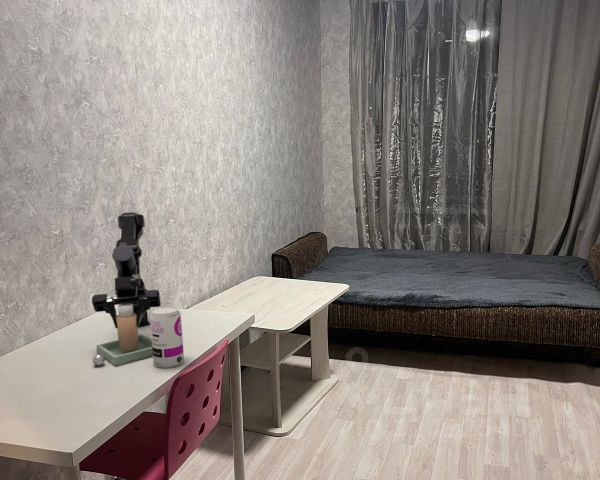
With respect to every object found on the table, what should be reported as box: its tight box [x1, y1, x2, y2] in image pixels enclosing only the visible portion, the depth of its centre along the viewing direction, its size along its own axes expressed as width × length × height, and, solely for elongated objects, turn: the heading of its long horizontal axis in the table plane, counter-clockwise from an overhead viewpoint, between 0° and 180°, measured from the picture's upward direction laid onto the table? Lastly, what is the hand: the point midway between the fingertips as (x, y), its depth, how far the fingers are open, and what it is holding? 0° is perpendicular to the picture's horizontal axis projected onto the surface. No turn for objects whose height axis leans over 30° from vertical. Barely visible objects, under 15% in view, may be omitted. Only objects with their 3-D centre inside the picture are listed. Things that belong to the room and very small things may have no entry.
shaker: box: [116, 303, 139, 351], centre depth 174 cm, size 6×6×12 cm
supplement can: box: [149, 306, 185, 369], centre depth 165 cm, size 8×8×15 cm
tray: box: [96, 333, 153, 367], centre depth 175 cm, size 14×14×2 cm
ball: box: [92, 354, 106, 367], centre depth 167 cm, size 3×3×3 cm
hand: (126, 326), depth 173 cm, fingers closed on shaker, 5 cm apart
